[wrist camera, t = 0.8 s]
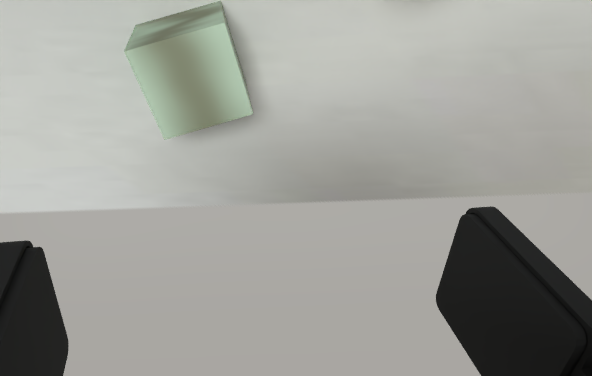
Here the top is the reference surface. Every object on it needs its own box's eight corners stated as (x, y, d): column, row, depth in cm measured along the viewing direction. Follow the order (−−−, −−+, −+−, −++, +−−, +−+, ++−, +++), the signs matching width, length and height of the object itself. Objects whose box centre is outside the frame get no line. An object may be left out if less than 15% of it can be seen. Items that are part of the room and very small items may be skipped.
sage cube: (220, 0, 31) (224, 22, 27) (245, 81, 35) (253, 114, 30) (135, 25, 31) (124, 51, 26) (169, 103, 35) (164, 139, 30)
